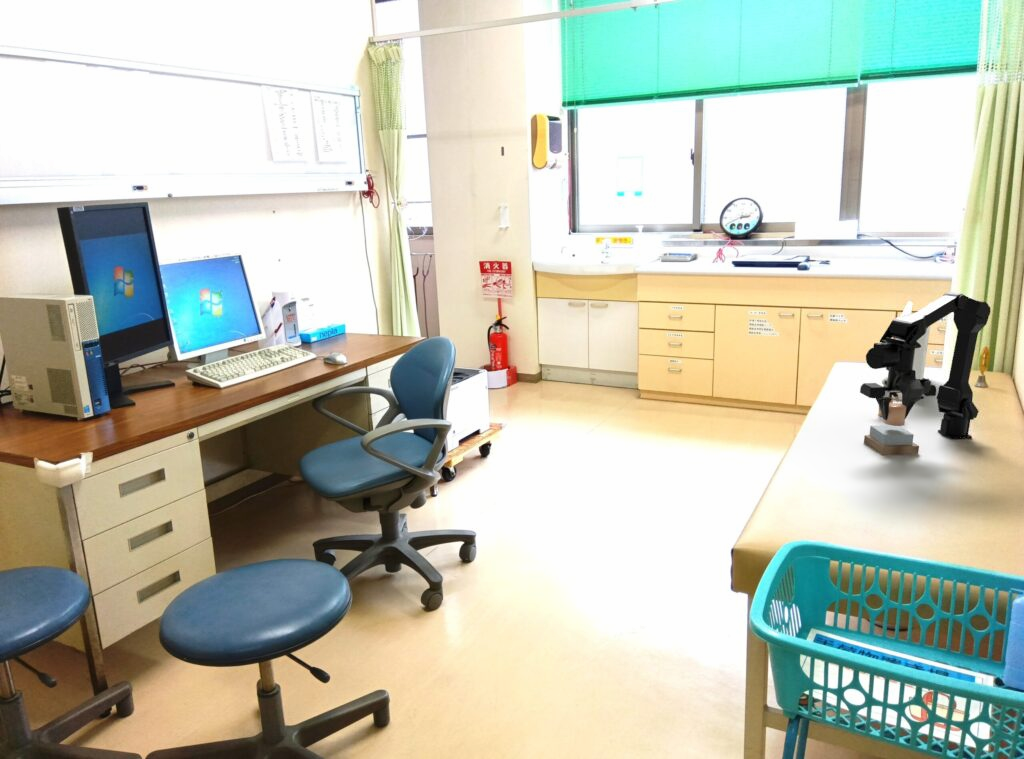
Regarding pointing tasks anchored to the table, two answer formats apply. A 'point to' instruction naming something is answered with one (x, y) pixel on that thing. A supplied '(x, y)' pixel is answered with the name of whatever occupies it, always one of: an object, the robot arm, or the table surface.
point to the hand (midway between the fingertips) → (894, 419)
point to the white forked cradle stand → (917, 350)
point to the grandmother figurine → (889, 395)
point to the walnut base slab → (890, 447)
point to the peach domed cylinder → (896, 414)
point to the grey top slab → (891, 435)
